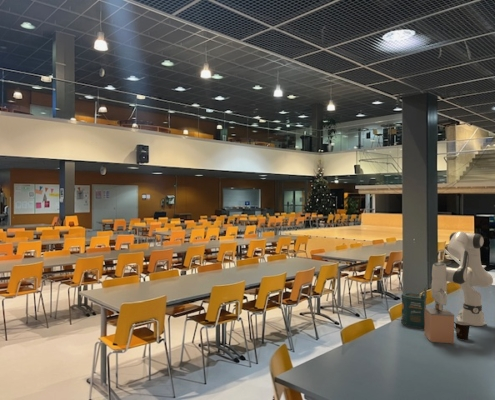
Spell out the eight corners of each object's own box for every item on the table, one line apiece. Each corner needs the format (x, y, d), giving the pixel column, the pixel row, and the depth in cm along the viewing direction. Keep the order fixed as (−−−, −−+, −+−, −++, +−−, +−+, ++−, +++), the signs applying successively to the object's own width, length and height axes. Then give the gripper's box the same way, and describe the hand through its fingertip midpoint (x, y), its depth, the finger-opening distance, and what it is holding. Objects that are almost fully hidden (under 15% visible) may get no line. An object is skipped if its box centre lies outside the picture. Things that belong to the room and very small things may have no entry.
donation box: (424, 328, 273) (424, 288, 273) (400, 324, 281) (400, 286, 281) (426, 322, 287) (426, 285, 287) (403, 319, 295) (403, 282, 295)
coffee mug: (471, 341, 248) (471, 325, 248) (457, 339, 249) (457, 324, 250) (465, 335, 259) (465, 320, 259) (451, 334, 261) (451, 319, 261)
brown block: (424, 334, 259) (424, 307, 260) (446, 336, 257) (446, 309, 257) (430, 341, 245) (430, 313, 246) (453, 343, 243) (454, 314, 243)
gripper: (449, 291, 241) (449, 313, 241) (439, 284, 261) (439, 305, 261) (438, 290, 242) (438, 312, 242) (429, 284, 262) (429, 304, 262)
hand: (438, 308), depth 251 cm, fingers closed on plunger, 4 cm apart
